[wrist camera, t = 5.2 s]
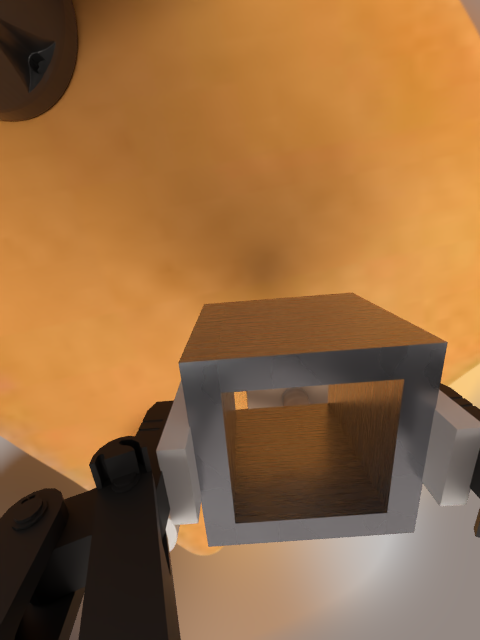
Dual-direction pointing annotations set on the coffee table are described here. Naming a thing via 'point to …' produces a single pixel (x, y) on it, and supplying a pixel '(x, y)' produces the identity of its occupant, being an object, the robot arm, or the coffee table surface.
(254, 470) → the collar
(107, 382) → the coffee table surface
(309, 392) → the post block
